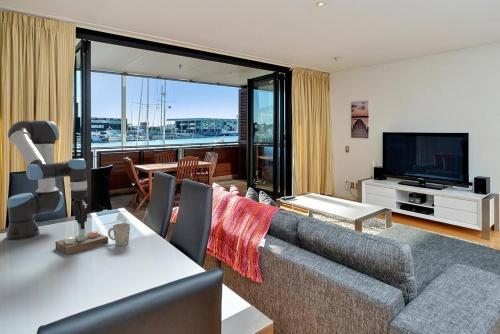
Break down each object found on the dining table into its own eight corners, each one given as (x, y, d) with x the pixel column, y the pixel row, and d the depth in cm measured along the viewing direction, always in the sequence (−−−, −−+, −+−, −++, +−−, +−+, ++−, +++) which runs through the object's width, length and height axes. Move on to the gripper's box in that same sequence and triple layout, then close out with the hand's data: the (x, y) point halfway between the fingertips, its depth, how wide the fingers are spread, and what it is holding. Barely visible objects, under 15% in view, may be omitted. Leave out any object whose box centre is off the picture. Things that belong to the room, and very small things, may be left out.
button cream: (63, 246, 160) (62, 238, 159) (72, 243, 163) (72, 236, 163) (67, 248, 157) (66, 240, 156) (76, 245, 160) (76, 237, 160)
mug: (124, 247, 162) (123, 228, 161) (102, 245, 165) (101, 226, 164) (134, 241, 170) (133, 223, 169) (112, 240, 173) (111, 222, 172)
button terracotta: (87, 239, 169) (87, 232, 168) (96, 237, 172) (95, 230, 172) (91, 241, 166) (91, 234, 166) (100, 239, 170) (99, 231, 169)
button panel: (55, 248, 161) (55, 241, 161) (95, 237, 177) (95, 231, 176) (67, 254, 153) (67, 247, 152) (108, 243, 168) (107, 236, 168)
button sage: (76, 242, 164) (75, 235, 164) (84, 240, 168) (84, 233, 167) (79, 244, 162) (79, 237, 161) (88, 242, 165) (88, 234, 164)
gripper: (65, 189, 163) (68, 234, 165) (77, 192, 154) (80, 239, 157) (80, 187, 168) (83, 230, 171) (92, 189, 160) (95, 235, 163)
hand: (81, 234), depth 164 cm, fingers closed
